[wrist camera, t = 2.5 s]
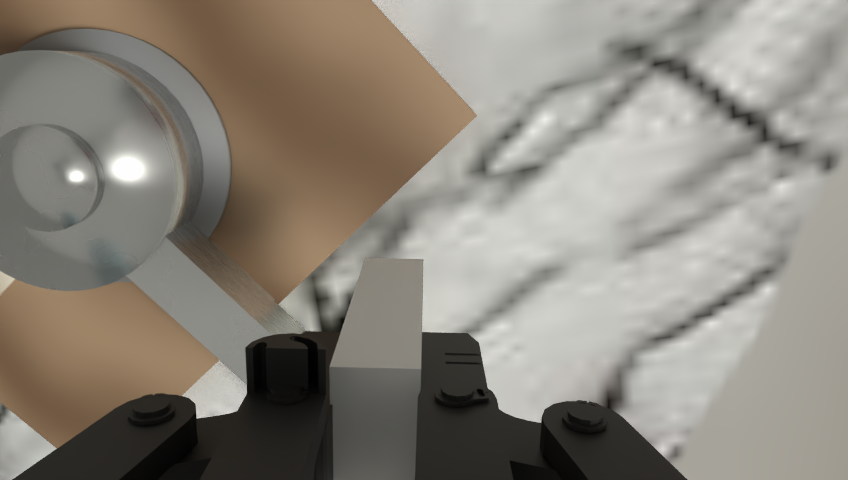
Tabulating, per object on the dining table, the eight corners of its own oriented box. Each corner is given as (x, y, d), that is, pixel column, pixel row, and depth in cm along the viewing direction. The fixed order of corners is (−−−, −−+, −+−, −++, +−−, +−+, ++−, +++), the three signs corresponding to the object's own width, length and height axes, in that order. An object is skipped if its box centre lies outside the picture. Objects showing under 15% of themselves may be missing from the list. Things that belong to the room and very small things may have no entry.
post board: (144, -247, 21) (77, -318, 17) (474, 113, 23) (483, 123, 19) (-212, 195, 24) (-334, 220, 20) (108, 460, 27) (54, 527, 23)
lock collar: (80, 2, 21) (17, -9, 17) (455, 369, 24) (458, 416, 20) (-55, 159, 22) (-135, 175, 19) (317, 488, 25) (300, 549, 22)
